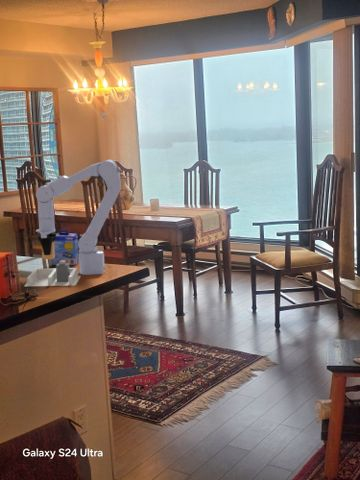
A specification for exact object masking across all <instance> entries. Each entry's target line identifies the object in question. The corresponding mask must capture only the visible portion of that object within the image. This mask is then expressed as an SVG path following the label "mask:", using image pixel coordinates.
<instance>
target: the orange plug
mask: <svg viewBox="0 0 360 480" xmlns="http://www.w3.org/2000/svg"><path fill="white" fill-rule="evenodd" d="M54 257H55V248H54V241H52V245H51V254H50V255H44V252H43V248H42V247H41V258H42V259H41V260H53V259H54Z"/></svg>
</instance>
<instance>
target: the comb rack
mask: <svg viewBox="0 0 360 480" xmlns="http://www.w3.org/2000/svg"><path fill="white" fill-rule="evenodd" d="M69 273H70V275H69V277H68V278H69V281H68V282H57V274H56V267H54V268H34V269H33V270H32V272H31V273H30V274H29V275H28V276H27V277H26V283H25V285H24V286H23V287H57V286H63V287H64V286H65V287H66V286H76V285H77V284H78V282H79V280H80V279H81V276H82V275H78V274H79V273H78V267H69Z"/></svg>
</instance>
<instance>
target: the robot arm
mask: <svg viewBox="0 0 360 480" xmlns="http://www.w3.org/2000/svg"><path fill="white" fill-rule="evenodd" d="M99 176H101V178H102V179H103V180H104V182H105V185H106V187H107V189H106V191H105V194H104V195H103V197H102V199H101V201H100V203H99V206H98V207H97V209H96V211H95V212H94V216H92V217H93V218H92V219H91V221H90V224H89V225H88V227H87V229H86V231H85V232H84V233H83V234H82V236H81V237H80V238H79V239H78V254H79V263H78V265H79V274H80V275H84V276H85V275H87V276H90V275H104V273H105V271H106V266H105V252H104V251H103V250H99V248H98V247H97V246H96V245H97V244H98V237H99V234H100V232H101V230H102V228H103V226H104V224H105V221H106V220H107V218H108V216H109V214H110V211H112V208H113V207H114V204H115V202H116V201H117V198H118V197H119V194H120V192H121V190H122V181H121V173H120V169H119V166H118V164H117V163H116V162H115V160H112V159H105V160H104V161H102V162H101V161H100V162H97V163H94V164H91V165H88V166H87V167H85V168H84V169H81V170H80V171H77V172H76V173H74V174H72V175H70V176H67V175H59V176H57V177H56V179H54V180H52V181H50V182H49V181H47V182H46V183H45V185H41V186H40V187H38V188H37V189H36V191H35V197H36V199H37V214H38V215H37V216H38V217H37V218H38V227H39V228H38V229H36V230H35V232H36V233H37V232H38V233H39V234H40V236H38V237H37V239H38V241H39V243H40V245H41V249H42V248H43V252H44V255H50V254H51V245H52V241H54V240H55V237H56V235H57V234H58V233H57V232H56V225H55V224H56V222H55V209H54V208H55V207H54V206H55V205H54V201H53V198H54V197H58V196H60V195H63V194H64V193H66V192H69V191H70V190H72V188H73V185H74V184H77V183H79V182H81V181H83V180H86V179H88V178H89V177H99Z"/></svg>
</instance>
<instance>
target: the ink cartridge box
mask: <svg viewBox="0 0 360 480" xmlns="http://www.w3.org/2000/svg"><path fill="white" fill-rule="evenodd" d="M58 232H59V233H57V235H56V237H55V240H54V248H55V257H54V259H52V265H53V266H56V265H57V264H58V263H59V261H62V260H65V261H66V263H69V266H76V265H77V264H79V247H78V241H79V239H78V237H79V236H78V233H69V230H68V229H58Z"/></svg>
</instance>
